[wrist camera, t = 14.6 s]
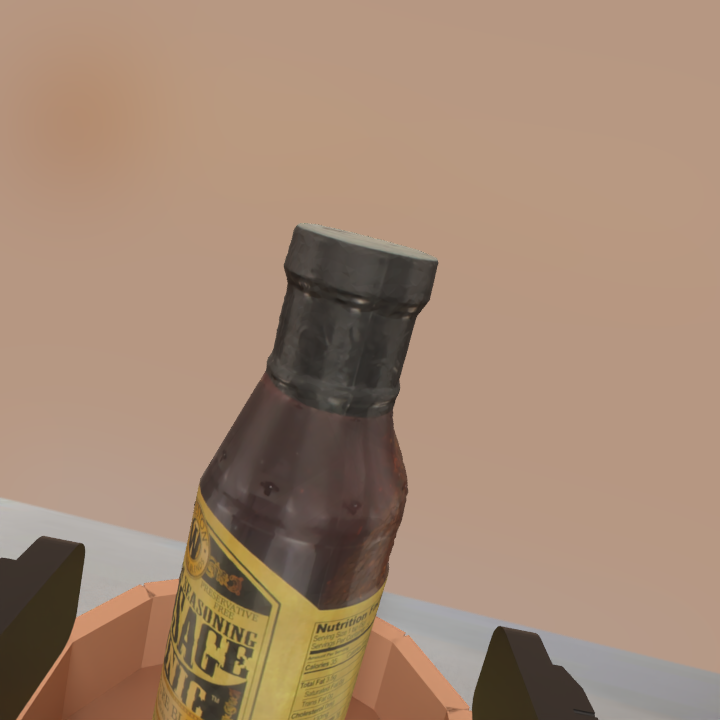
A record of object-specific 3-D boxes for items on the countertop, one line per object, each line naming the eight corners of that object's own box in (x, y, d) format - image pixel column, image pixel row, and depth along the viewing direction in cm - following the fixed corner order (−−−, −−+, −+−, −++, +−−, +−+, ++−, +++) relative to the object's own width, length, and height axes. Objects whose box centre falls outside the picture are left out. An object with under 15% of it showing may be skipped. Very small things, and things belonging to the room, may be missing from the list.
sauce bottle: (125, 743, 22) (218, 200, 18) (283, 711, 25) (394, 241, 21) (151, 943, 16) (295, 221, 12) (350, 870, 19) (520, 272, 15)
